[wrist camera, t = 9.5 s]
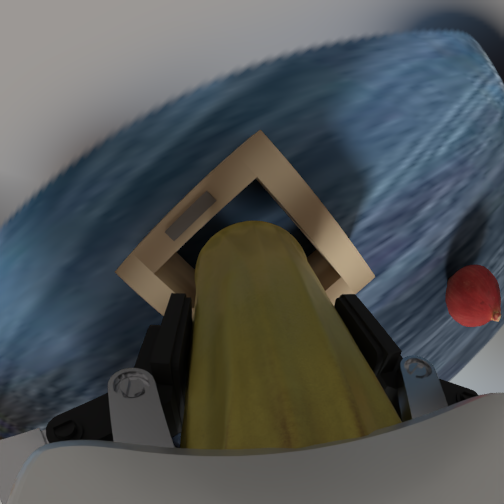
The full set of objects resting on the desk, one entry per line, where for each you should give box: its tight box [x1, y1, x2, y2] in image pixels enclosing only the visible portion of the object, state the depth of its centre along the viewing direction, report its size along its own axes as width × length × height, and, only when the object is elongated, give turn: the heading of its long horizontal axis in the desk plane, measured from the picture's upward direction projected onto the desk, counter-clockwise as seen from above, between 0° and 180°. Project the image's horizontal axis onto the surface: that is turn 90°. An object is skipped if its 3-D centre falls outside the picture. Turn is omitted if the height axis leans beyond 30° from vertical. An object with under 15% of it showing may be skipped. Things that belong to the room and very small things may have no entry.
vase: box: [180, 221, 402, 450], centre depth 9 cm, size 6×6×14 cm
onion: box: [446, 265, 501, 327], centre depth 20 cm, size 6×6×8 cm
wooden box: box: [115, 130, 375, 318], centre depth 18 cm, size 11×11×5 cm
